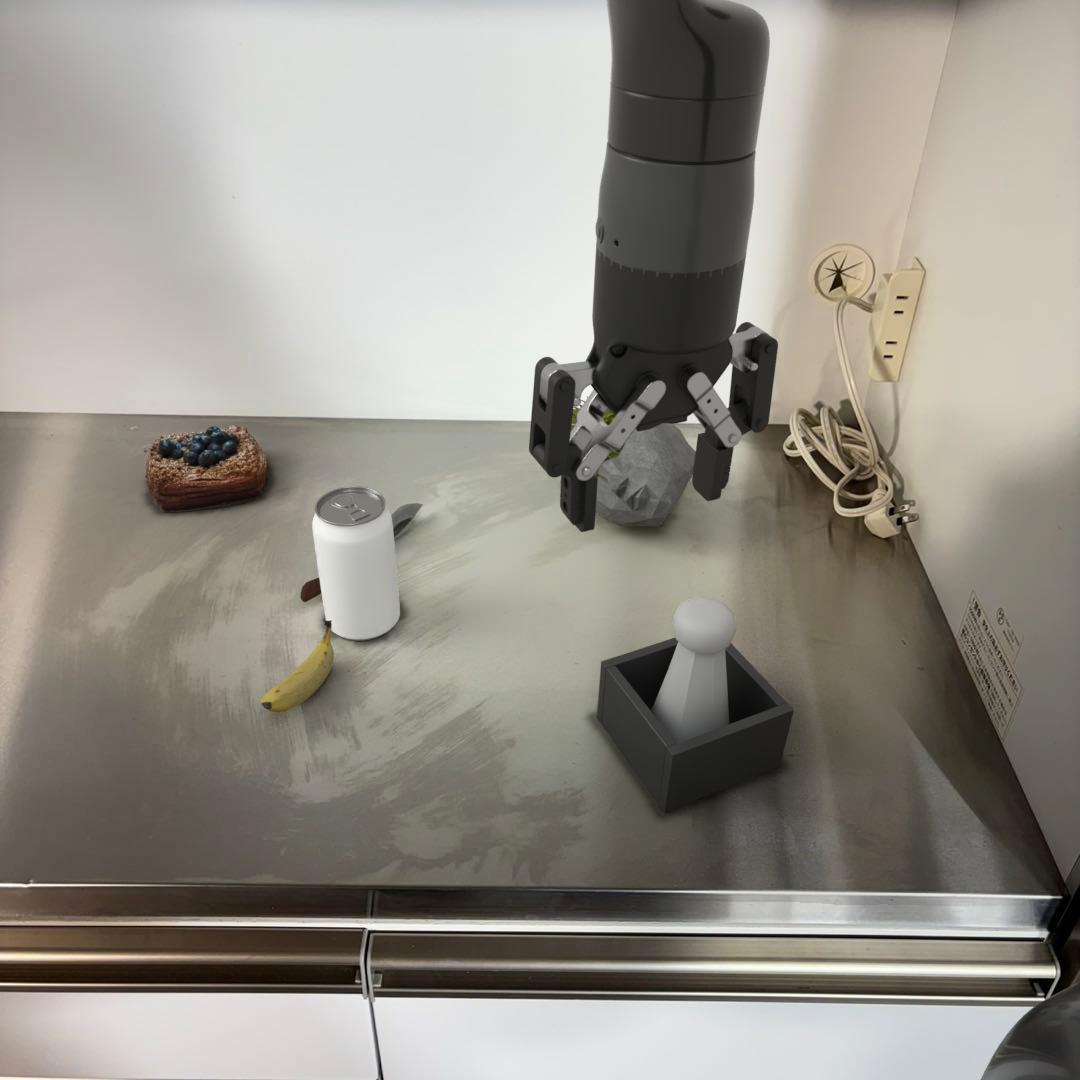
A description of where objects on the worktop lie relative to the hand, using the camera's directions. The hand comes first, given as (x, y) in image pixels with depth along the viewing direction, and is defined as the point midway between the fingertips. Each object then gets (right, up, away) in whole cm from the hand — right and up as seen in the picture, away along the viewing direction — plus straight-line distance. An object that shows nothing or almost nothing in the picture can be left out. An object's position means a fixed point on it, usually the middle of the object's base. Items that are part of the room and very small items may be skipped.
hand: (644, 508), depth 58 cm
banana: (-25, -14, +19) cm, 35 cm away
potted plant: (+2, +1, +42) cm, 42 cm away
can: (-22, -9, +27) cm, 36 cm away
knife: (-22, -4, +34) cm, 41 cm away
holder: (+5, -17, +16) cm, 24 cm away
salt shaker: (+5, -17, +16) cm, 24 cm away
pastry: (-41, +4, +44) cm, 61 cm away
